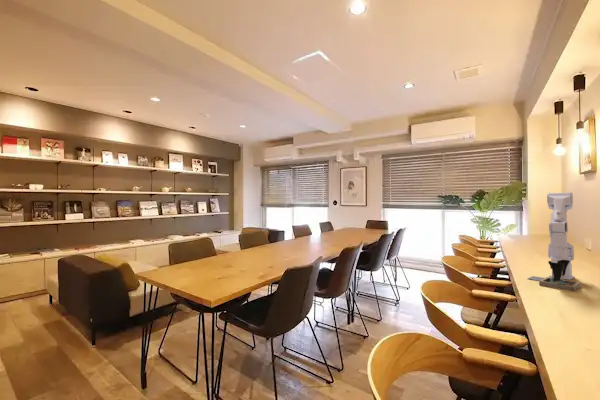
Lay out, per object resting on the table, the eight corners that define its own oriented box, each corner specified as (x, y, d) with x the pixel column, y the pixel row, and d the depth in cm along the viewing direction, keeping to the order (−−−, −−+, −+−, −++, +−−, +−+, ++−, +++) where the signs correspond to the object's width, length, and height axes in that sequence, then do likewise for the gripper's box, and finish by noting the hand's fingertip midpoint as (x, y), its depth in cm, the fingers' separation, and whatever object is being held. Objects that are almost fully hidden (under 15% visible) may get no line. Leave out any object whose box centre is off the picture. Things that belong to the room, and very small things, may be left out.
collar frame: (547, 281, 140) (547, 277, 140) (580, 287, 130) (580, 282, 130) (539, 285, 134) (539, 280, 134) (573, 291, 124) (573, 286, 124)
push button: (569, 286, 131) (569, 264, 131) (567, 288, 128) (568, 266, 128) (550, 282, 136) (550, 262, 136) (548, 284, 133) (549, 263, 133)
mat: (533, 276, 148) (533, 276, 148) (550, 279, 143) (550, 278, 143) (527, 279, 144) (527, 278, 144) (545, 282, 138) (545, 281, 138)
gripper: (565, 250, 125) (566, 280, 124) (574, 246, 133) (575, 275, 133) (545, 247, 130) (545, 277, 130) (555, 244, 139) (555, 272, 138)
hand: (559, 276), depth 132 cm, fingers closed on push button, 5 cm apart
